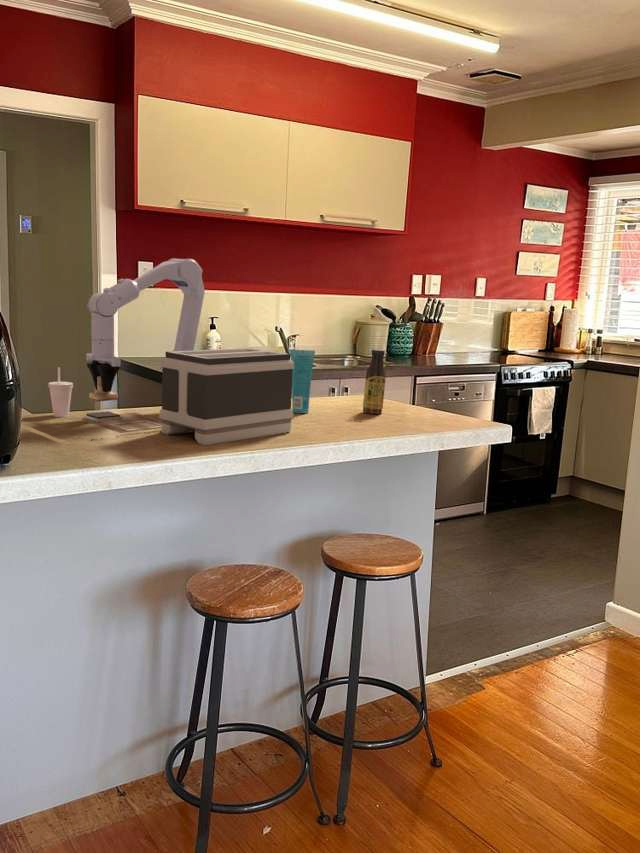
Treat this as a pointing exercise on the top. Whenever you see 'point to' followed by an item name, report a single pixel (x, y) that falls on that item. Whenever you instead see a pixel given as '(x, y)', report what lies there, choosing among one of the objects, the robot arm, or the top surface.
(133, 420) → the board
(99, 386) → the stamp
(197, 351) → the toaster
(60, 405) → the smoothie
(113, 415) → the ink pad
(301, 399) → the tube
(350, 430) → the top surface
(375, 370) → the sauce bottle
